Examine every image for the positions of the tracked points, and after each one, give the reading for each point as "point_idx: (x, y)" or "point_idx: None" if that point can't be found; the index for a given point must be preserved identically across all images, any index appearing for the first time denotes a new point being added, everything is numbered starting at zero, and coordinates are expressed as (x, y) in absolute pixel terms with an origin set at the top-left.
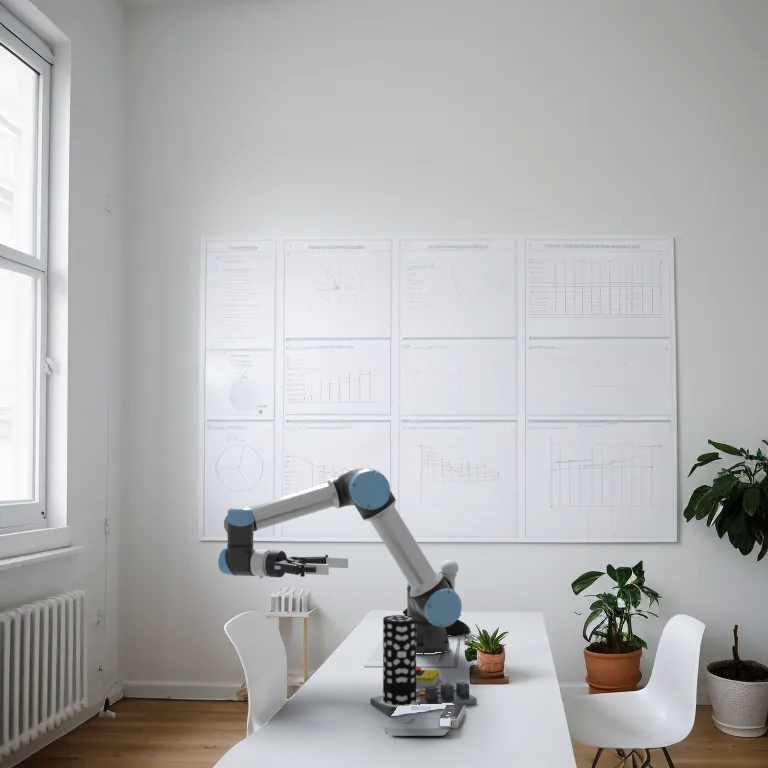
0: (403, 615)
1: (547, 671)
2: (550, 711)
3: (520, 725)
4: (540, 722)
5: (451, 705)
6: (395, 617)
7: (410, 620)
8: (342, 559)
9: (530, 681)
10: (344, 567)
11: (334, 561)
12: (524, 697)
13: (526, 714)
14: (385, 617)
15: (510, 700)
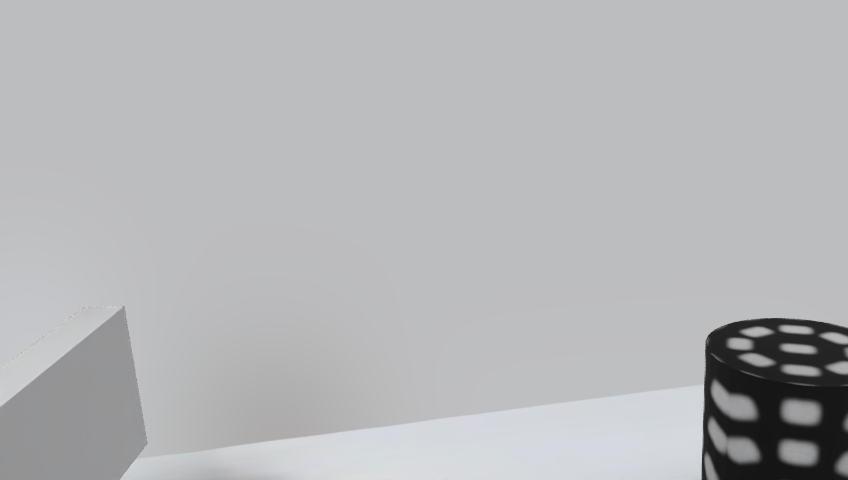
0: (717, 354)
1: (159, 458)
2: (548, 413)
3: (693, 434)
4: (644, 415)
5: None
6: (792, 361)
7: (799, 323)
8: (90, 355)
9: (278, 471)
10: (129, 458)
11: (11, 477)
12: (450, 459)
13: (599, 438)
14: (835, 382)
15: (492, 476)
